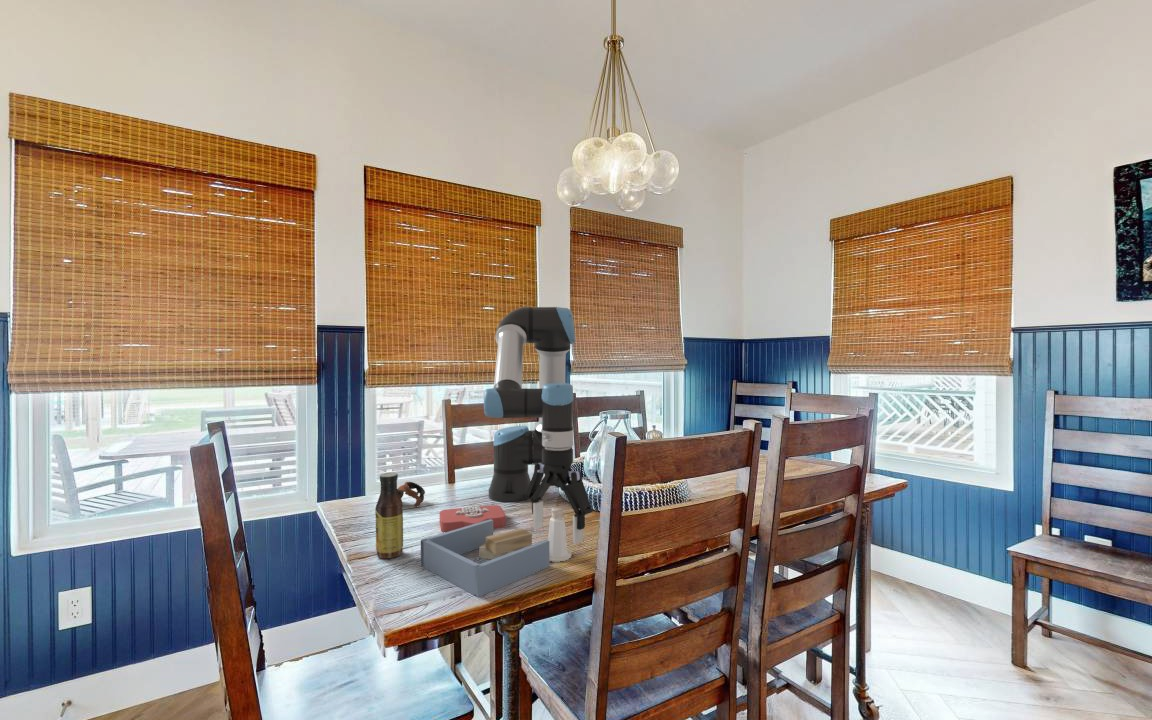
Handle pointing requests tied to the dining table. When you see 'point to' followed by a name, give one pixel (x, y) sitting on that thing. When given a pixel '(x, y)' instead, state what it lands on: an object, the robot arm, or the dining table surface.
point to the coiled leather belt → (412, 492)
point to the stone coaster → (561, 558)
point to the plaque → (471, 517)
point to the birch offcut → (489, 555)
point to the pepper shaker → (557, 534)
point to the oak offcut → (508, 541)
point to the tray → (477, 578)
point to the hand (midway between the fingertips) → (557, 535)
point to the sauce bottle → (389, 518)
